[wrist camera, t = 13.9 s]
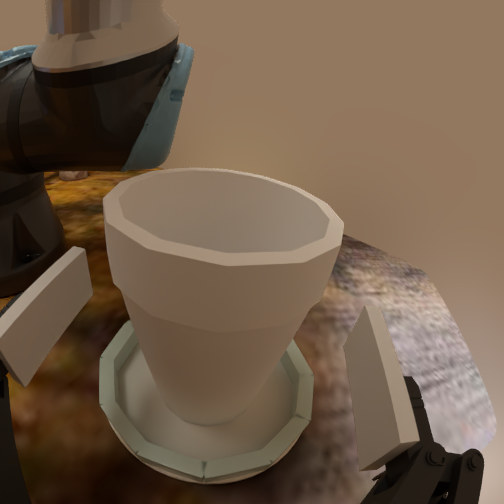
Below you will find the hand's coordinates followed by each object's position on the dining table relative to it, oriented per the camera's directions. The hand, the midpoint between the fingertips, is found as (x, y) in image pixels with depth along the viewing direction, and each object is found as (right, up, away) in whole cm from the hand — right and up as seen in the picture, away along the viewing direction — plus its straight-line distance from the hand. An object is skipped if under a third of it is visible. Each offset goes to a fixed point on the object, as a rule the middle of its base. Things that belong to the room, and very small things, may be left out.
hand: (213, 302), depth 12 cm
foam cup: (-1, -7, +5) cm, 9 cm away
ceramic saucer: (-2, -7, +6) cm, 9 cm away
